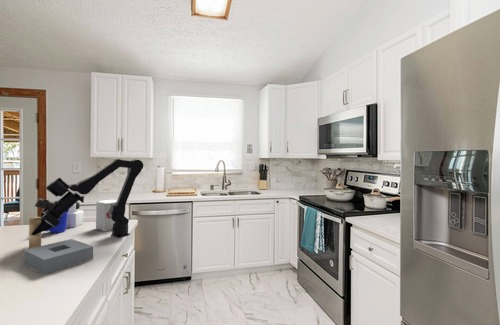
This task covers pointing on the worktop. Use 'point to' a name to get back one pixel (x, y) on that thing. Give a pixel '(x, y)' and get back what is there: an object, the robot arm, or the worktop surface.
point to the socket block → (57, 255)
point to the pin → (32, 231)
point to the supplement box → (104, 215)
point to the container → (74, 216)
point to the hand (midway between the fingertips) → (32, 231)
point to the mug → (60, 224)
